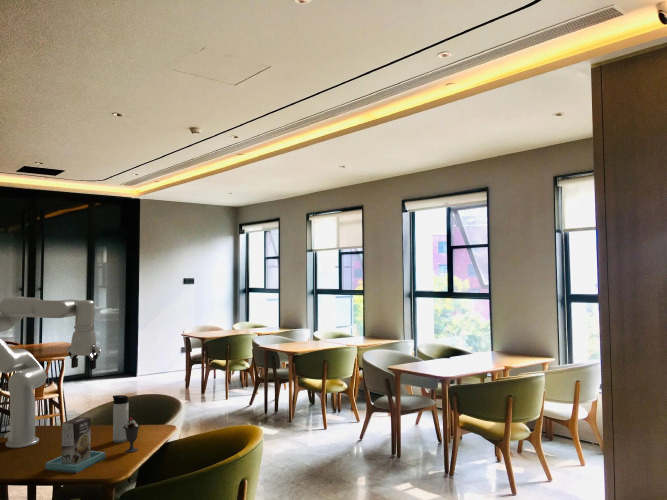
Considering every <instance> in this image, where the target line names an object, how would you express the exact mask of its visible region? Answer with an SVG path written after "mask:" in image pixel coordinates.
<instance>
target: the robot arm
mask: <svg viewBox="0 0 667 500" xmlns="http://www.w3.org/2000/svg"><path fill="white" fill-rule="evenodd" d="M24 317H26V318H41V319H64V318H71V317H75V319H74V321H75V322H74V326H73V328H74V331H73V333H72V337H71V340H70V341H71V343H70V346H69V347H67V348H66V350H67V353H68V356H69V359H71V361H70V363H71V364H70V366H71V369H75V368H78V367H79V358H78V356H82V357H84V356H85V357H86V356H87V357H89V359H90V360H89V370H95V369H96V368H97V360H98V359H99V357H100V355H101V353H102V349H101V348H99V347H98V346H97V338H96V332H95V301H94V300H91V299H88V300H87V299H86V300H85V299H81V300H79V299H74V298H73V299H72V298H71V299H62V300H61V299H60V300H46V299H45V300H43V299H41V298H39V297H26V296H9V297H5V298H4V299H2V300H1V301H0V333H4V332H7V331H9V330H11V329H12V328H14V326H16V325H17V324H19V322H20V321H21V320H22V319H24ZM0 372H1V373H3V374H10V373H13V374H11V376H9V379H8V380H7V381H8V384H7V385H8V387H7V388H8V392H9V400H10V401H9V403H10V404H9V407H10V408H9V409H10V410H9V411H10V415H9V417H10V418H9V419H10V420H9V431H8V432H6V434H4V435H3V437H4V439H7V441H6V442H5V447H6V448H11V449H17V448H18V449H19V448H25V447H29V446H33V445H36V444H38V443H39V441H40V438H39V437H38V436H36V397H35V394H34V391H33V390H34V389H38V388H39V387H41V386H43V385H44V384H45V382H47V381H46V380H47V373H46V370H45V368H43V366H42V365H41V364H40V363H39V361H38V360H37V359H36V357H34V356H33V354H32V353H31V352H30V351H28V350H27V349H24V348H15V349H12V348H11V347H10V346H9V345H8V344H7V342H6V341H5V340H4V339H3V338H1V337H0Z"/></svg>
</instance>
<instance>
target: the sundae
mask: <svg viewBox="0 0 667 500" xmlns="http://www.w3.org/2000/svg"><path fill="white" fill-rule="evenodd" d="M129 415H130V417H128V422H127V425H125V426H124V427H123V428H124V429H125V432H126V439H127V441H128V442H129V443H130V444H129V448H128V449H126V450H124V451H125V453H129V454H130V453H136V452H137V451H138V450H139V449H138V448H135V447H134V442H135V441H136V440H137V439H138V432H139V428H140V427H141V425H140V423H137V422H136V421H135V419H133V415H132V413H129ZM127 441H126V442H127Z"/></svg>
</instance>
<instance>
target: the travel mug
mask: <svg viewBox="0 0 667 500" xmlns="http://www.w3.org/2000/svg"><path fill="white" fill-rule="evenodd" d="M112 398H113V405H112V406H113V410H112V411H113V412H112V415H113V416H112V422H113V423H112V442H113V443H116V444H120V443H121V444H122V443H125V442H127V439H126V432H125V429H124V428H123V427H124V426H125V425H127V422H128V421H129V395H128V396H127V395H124V394H121V395H120V394H118V395H117V394H116V395H112Z"/></svg>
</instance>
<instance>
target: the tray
mask: <svg viewBox="0 0 667 500" xmlns="http://www.w3.org/2000/svg"><path fill="white" fill-rule="evenodd" d="M106 453H107V452H105V451H98V450H97V451H96V450H90V459H88V460H86V461H84V462H82V463H80V464H78V465H70V464H61V457H62V455H60V456H58V457H55V458H54V459H51V460H48V461H47V462H45V469H44V470H47V471H54V472H55V471H56V472H61V473H62V472H63V473H71V474H77V473H80V472H81V471H84V470H86V469H87V468H89V467H91V466H93V465H96V464H98V463H99V462H102V461H103V460H106V459H107V456H106Z"/></svg>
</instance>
